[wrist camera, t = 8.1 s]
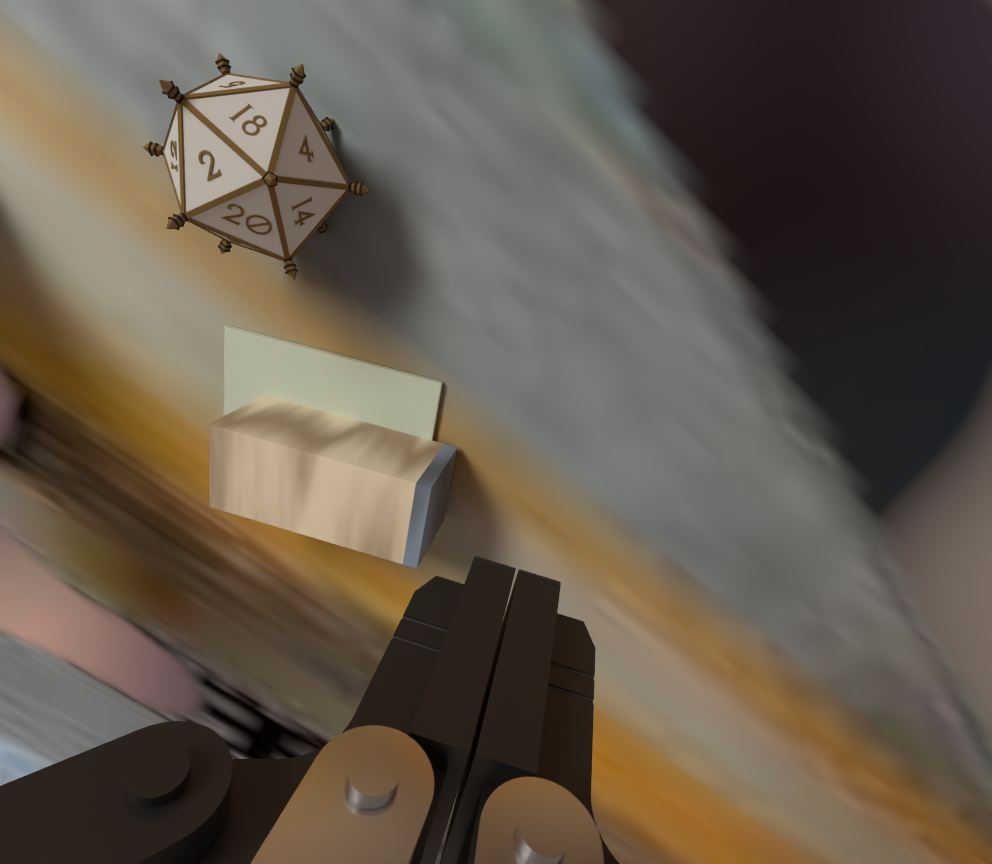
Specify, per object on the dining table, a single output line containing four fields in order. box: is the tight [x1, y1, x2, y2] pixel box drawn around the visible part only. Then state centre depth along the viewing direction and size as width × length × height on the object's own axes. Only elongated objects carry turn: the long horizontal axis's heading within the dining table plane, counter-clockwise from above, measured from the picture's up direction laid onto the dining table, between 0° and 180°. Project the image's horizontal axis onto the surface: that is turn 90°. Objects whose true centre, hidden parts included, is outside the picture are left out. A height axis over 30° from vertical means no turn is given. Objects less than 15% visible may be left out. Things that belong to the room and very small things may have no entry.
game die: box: [143, 53, 370, 280], centre depth 26 cm, size 9×8×10 cm
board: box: [224, 326, 443, 441], centre depth 35 cm, size 13×12×1 cm
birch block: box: [209, 394, 457, 569], centre depth 33 cm, size 5×5×12 cm
